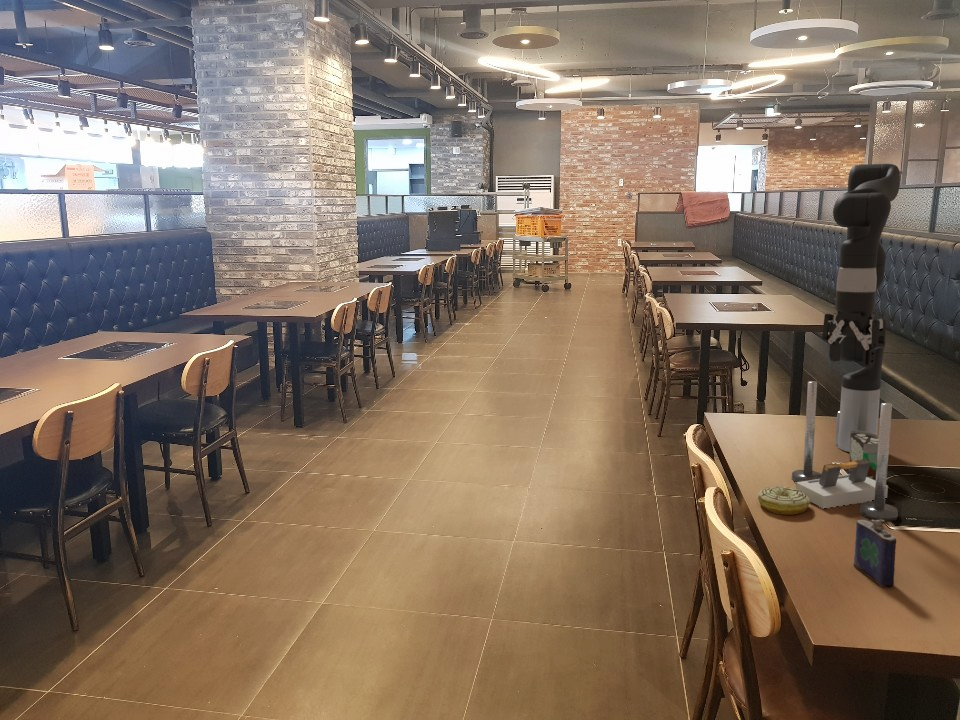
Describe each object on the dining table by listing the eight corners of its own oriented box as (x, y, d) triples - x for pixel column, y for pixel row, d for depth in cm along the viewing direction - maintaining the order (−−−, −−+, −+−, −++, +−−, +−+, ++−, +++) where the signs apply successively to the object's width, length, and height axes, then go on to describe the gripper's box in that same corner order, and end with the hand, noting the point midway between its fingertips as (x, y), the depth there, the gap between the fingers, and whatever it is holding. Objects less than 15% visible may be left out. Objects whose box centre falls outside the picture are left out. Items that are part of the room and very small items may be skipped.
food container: (890, 486, 172) (893, 445, 170) (861, 485, 174) (864, 444, 172) (873, 468, 184) (876, 430, 182) (847, 467, 185) (849, 429, 183)
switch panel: (795, 494, 169) (796, 481, 169) (856, 485, 174) (857, 472, 173) (823, 509, 161) (824, 495, 160) (886, 498, 165) (887, 485, 165)
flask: (850, 564, 136) (854, 510, 134) (864, 563, 136) (868, 508, 134) (883, 589, 127) (888, 531, 125) (899, 587, 127) (904, 530, 125)
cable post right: (852, 511, 159) (859, 401, 155) (879, 506, 161) (887, 398, 156) (877, 523, 153) (886, 409, 148) (905, 518, 155) (914, 406, 150)
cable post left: (785, 477, 180) (789, 380, 175) (809, 474, 182) (814, 377, 177) (805, 487, 174) (810, 386, 169) (829, 483, 175) (835, 383, 171)
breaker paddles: (818, 483, 166) (824, 465, 164) (860, 477, 169) (865, 458, 167) (823, 487, 164) (828, 468, 162) (865, 481, 167) (870, 462, 165)
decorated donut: (816, 506, 163) (817, 490, 163) (799, 521, 156) (799, 505, 155) (769, 495, 170) (770, 479, 170) (750, 509, 163) (751, 493, 162)
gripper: (898, 290, 151) (892, 368, 154) (842, 286, 164) (837, 357, 167) (871, 292, 149) (865, 371, 151) (816, 287, 162) (811, 360, 164)
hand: (850, 363), depth 159 cm, fingers open, 8 cm apart
